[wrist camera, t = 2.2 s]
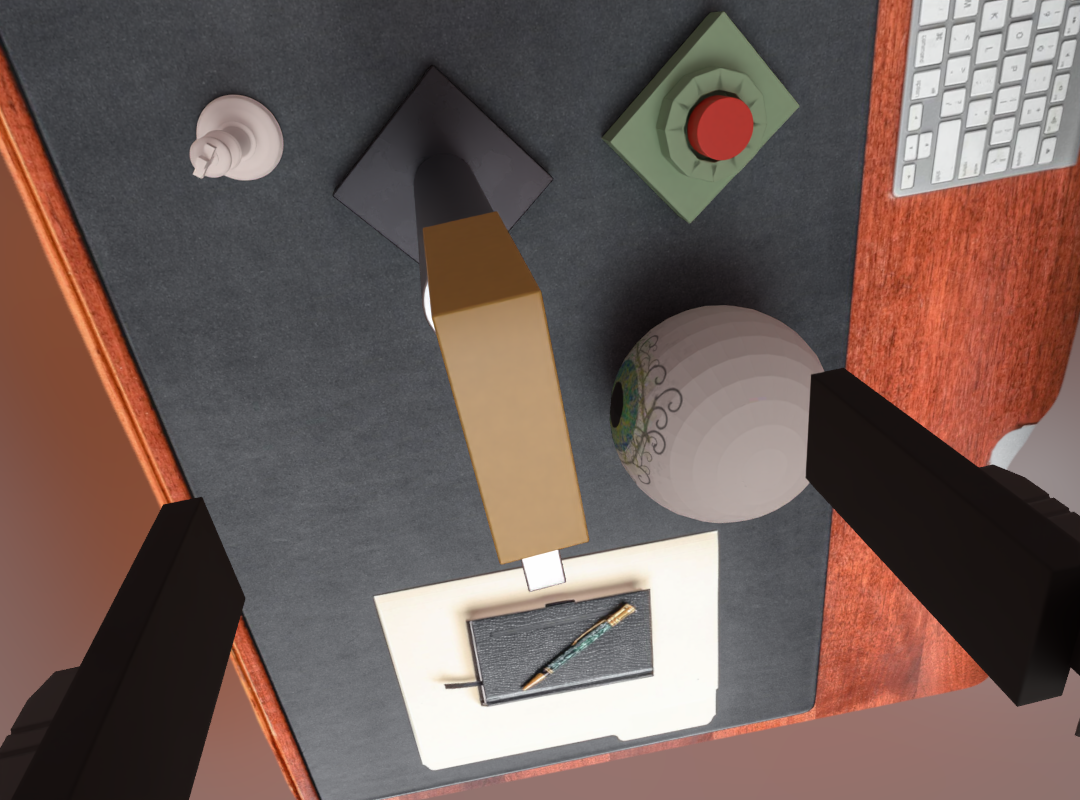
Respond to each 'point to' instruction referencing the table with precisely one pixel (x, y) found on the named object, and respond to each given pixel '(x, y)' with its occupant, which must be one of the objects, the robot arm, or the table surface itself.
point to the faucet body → (438, 171)
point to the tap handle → (506, 392)
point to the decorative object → (716, 413)
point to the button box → (668, 100)
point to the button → (720, 127)
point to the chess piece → (236, 139)
